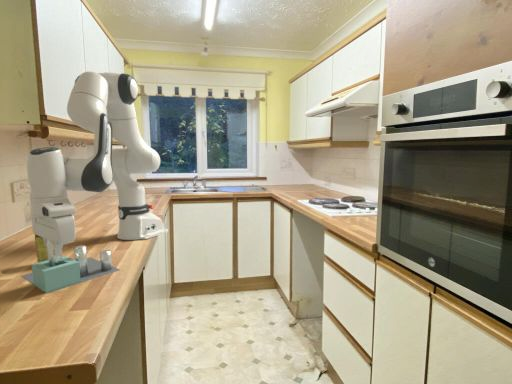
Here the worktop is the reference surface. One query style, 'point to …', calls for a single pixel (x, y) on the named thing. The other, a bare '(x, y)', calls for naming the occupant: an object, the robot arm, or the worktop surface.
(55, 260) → the long pin
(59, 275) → the block
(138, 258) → the worktop surface
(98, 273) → the mat
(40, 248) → the sauce bottle
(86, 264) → the medium pin
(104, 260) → the short pin
